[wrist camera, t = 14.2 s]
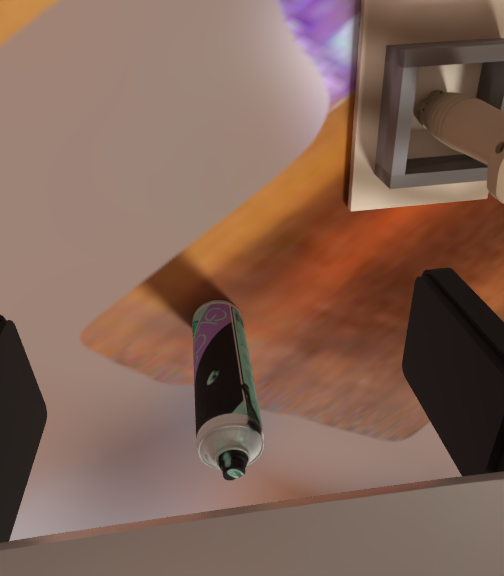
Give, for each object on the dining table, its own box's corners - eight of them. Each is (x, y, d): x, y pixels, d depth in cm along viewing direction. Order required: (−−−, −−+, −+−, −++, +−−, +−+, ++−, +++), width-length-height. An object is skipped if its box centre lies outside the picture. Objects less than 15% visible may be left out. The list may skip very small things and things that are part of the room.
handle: (473, 78, 42) (600, 118, 29) (439, 150, 45) (541, 214, 32) (425, 62, 41) (536, 97, 28) (394, 137, 44) (481, 199, 31)
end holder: (361, -5, 38) (383, -4, 34) (527, -14, 39) (569, -14, 35) (347, 207, 48) (363, 228, 44) (481, 195, 49) (510, 214, 45)
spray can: (204, 293, 51) (216, 443, 34) (250, 309, 53) (282, 459, 36) (184, 331, 53) (186, 490, 36) (229, 345, 55) (250, 502, 38)
